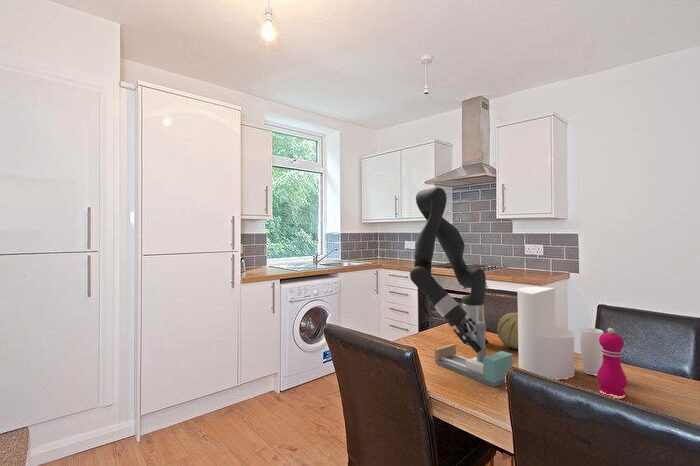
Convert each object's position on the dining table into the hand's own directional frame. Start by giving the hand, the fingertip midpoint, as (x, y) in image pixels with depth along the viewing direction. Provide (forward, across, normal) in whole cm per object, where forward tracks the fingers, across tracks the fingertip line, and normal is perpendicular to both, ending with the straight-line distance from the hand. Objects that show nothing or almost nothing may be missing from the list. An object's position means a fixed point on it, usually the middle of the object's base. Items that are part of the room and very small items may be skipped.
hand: (483, 347), depth 119 cm
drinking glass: (+28, +22, -14) cm, 38 cm away
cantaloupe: (+9, +36, +5) cm, 37 cm away
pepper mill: (+32, +7, -18) cm, 37 cm away
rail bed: (+4, +1, +10) cm, 11 cm away
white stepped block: (+19, +17, -5) cm, 26 cm away
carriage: (+4, 0, +5) cm, 7 cm away
